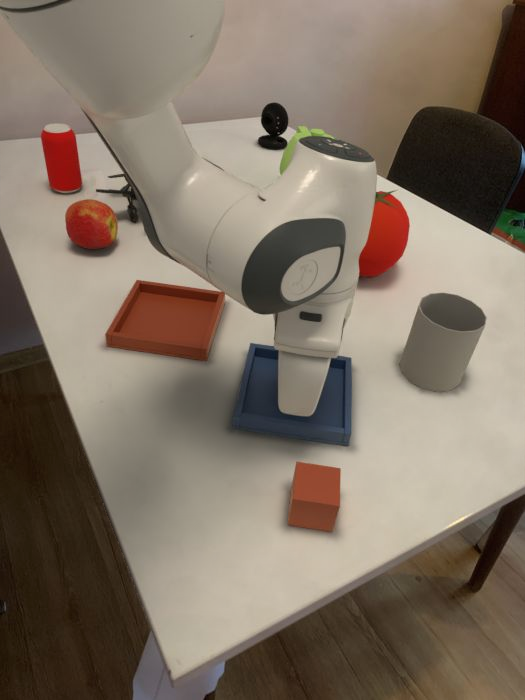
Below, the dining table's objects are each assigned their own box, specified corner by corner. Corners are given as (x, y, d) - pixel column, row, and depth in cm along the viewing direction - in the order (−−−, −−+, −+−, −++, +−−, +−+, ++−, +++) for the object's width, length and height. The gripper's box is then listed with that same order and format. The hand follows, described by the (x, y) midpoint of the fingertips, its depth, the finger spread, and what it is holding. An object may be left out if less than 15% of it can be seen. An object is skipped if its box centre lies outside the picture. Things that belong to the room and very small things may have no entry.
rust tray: (106, 346, 72) (105, 334, 71) (137, 291, 83) (136, 279, 81) (206, 361, 72) (206, 349, 70) (224, 303, 82) (225, 292, 81)
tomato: (374, 245, 100) (391, 173, 91) (416, 284, 91) (440, 209, 82) (298, 255, 95) (309, 180, 86) (335, 299, 85) (351, 219, 77)
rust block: (287, 525, 54) (292, 498, 51) (291, 487, 57) (296, 461, 54) (332, 532, 54) (340, 506, 51) (333, 494, 57) (340, 468, 54)
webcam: (251, 143, 136) (254, 101, 130) (269, 137, 141) (273, 96, 134) (274, 152, 132) (279, 109, 126) (293, 145, 137) (298, 104, 131)
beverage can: (76, 197, 105) (66, 134, 97) (45, 193, 105) (33, 130, 98) (87, 184, 110) (79, 124, 102) (57, 180, 110) (47, 120, 102)
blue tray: (232, 428, 63) (233, 416, 62) (249, 354, 73) (250, 342, 72) (348, 446, 62) (351, 434, 61) (348, 369, 73) (351, 357, 71)
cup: (387, 358, 75) (405, 299, 69) (432, 344, 78) (453, 287, 72) (427, 398, 69) (451, 338, 63) (473, 382, 73) (501, 323, 66)
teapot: (356, 208, 112) (369, 147, 104) (296, 212, 108) (305, 149, 100) (320, 170, 126) (329, 114, 118) (266, 172, 122) (271, 115, 114)
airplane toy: (121, 243, 93) (112, 155, 83) (79, 199, 105) (67, 118, 95) (219, 219, 103) (222, 138, 93) (171, 181, 114) (169, 106, 104)
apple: (106, 261, 88) (101, 216, 83) (58, 253, 89) (50, 208, 84) (125, 239, 94) (121, 196, 89) (80, 231, 95) (74, 188, 90)
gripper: (291, 243, 66) (280, 331, 75) (272, 348, 50) (261, 444, 59) (343, 250, 66) (325, 338, 74) (340, 357, 50) (318, 453, 59)
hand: (296, 386), depth 67 cm, fingers open, 5 cm apart
